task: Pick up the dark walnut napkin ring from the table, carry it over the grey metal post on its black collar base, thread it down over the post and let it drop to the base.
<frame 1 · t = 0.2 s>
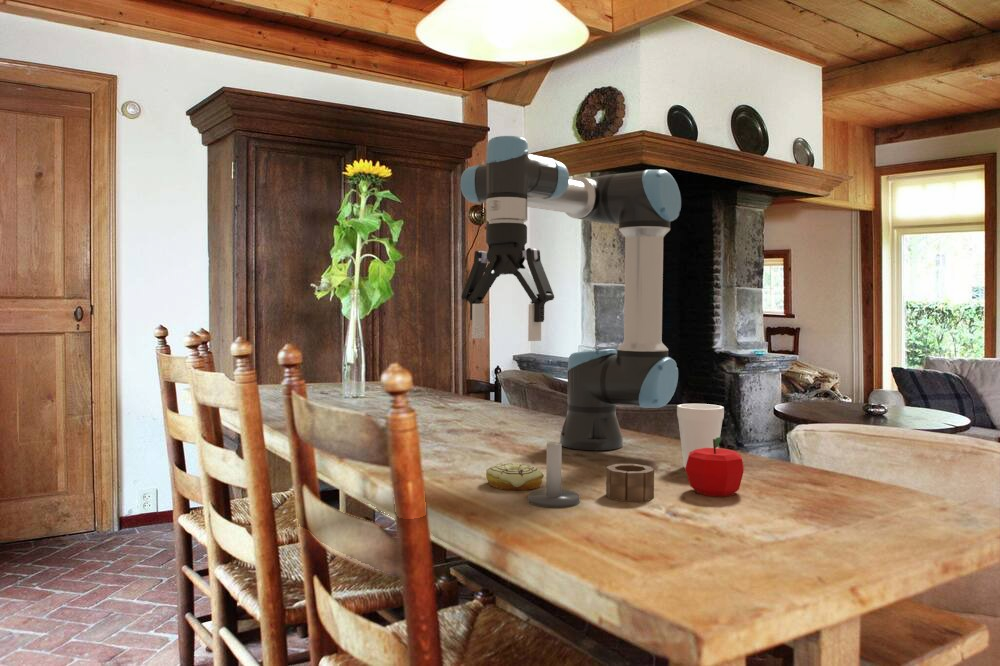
hand: (505, 339, 147), 28 cm above the table, fingers open, 13 cm apart
ring: (629, 496, 143), on the table
foam cup: (699, 469, 168), on the table
apple: (714, 493, 146), on the table
post: (553, 500, 139), on the table
decorated donut: (514, 487, 151), on the table
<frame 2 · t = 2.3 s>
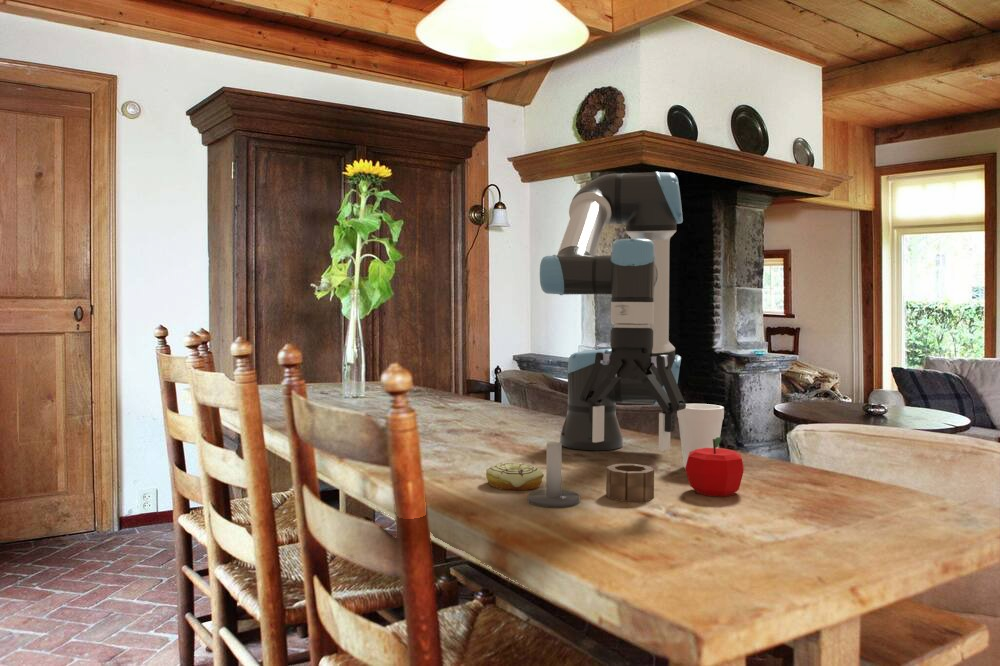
hand: (630, 446, 142), 9 cm above the table, fingers open, 13 cm apart
nothing on the table moved.
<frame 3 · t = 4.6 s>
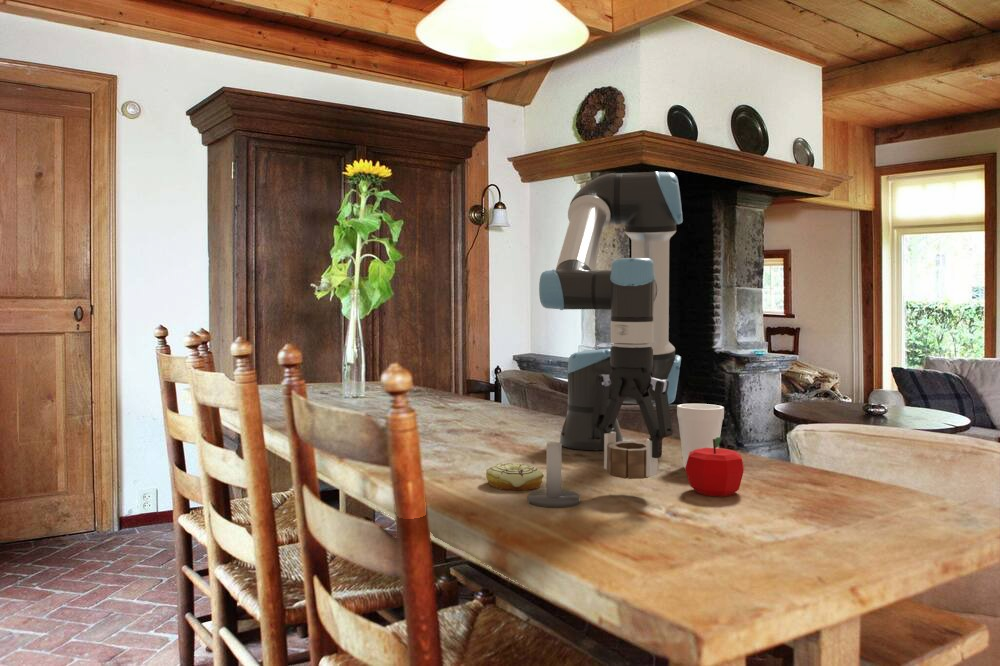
hand: (630, 471, 143), 4 cm above the table, fingers closed on ring, 8 cm apart
ring: (630, 473, 143), point 4 cm above the table, touching gripper
everything else where it was.
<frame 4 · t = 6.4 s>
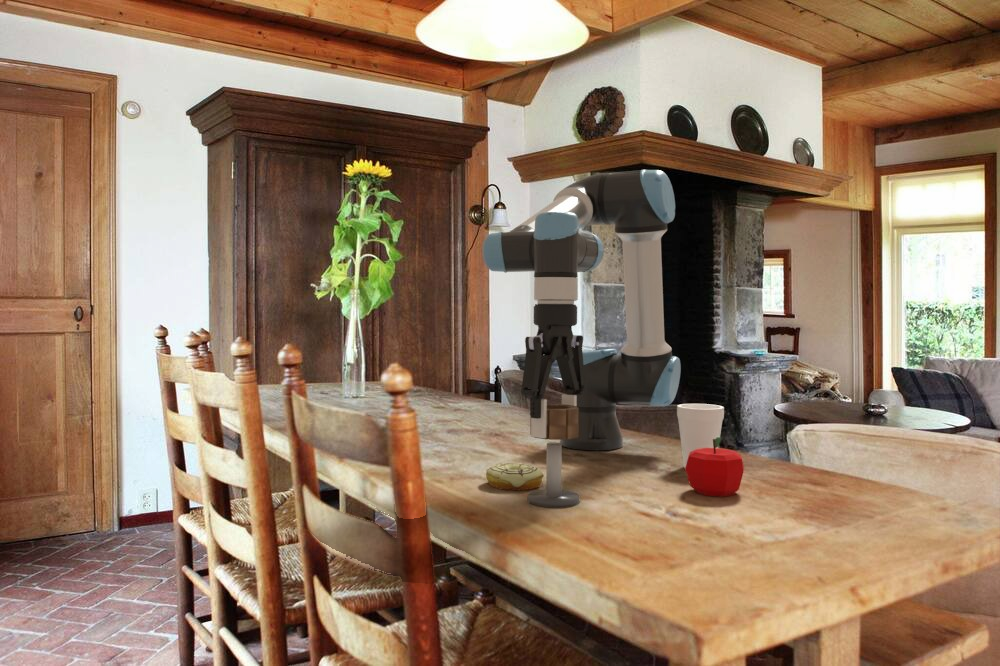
hand: (554, 434, 139), 12 cm above the table, fingers closed on ring, 8 cm apart
ring: (554, 435, 139), point 11 cm above the table, touching gripper
everything else where it was.
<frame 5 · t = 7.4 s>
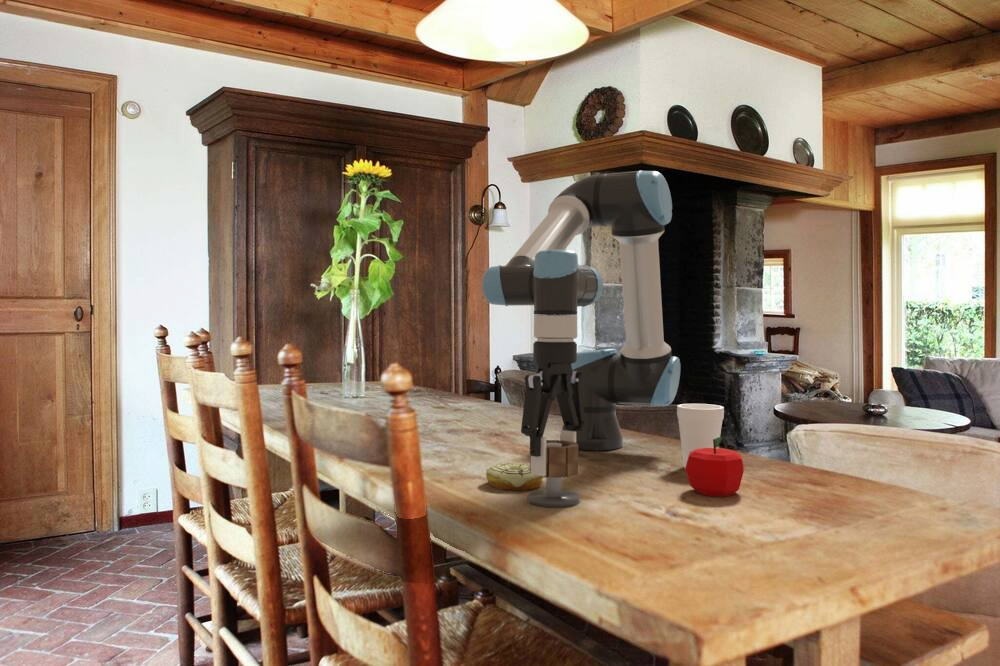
hand: (553, 470, 139), 5 cm above the table, fingers closed on ring, 8 cm apart
ring: (553, 472, 139), point 5 cm above the table, touching gripper
everything else where it was.
when the fingers open (5 cm above the table, at t = 8.3 s): ring drops 3 cm, resting on post.
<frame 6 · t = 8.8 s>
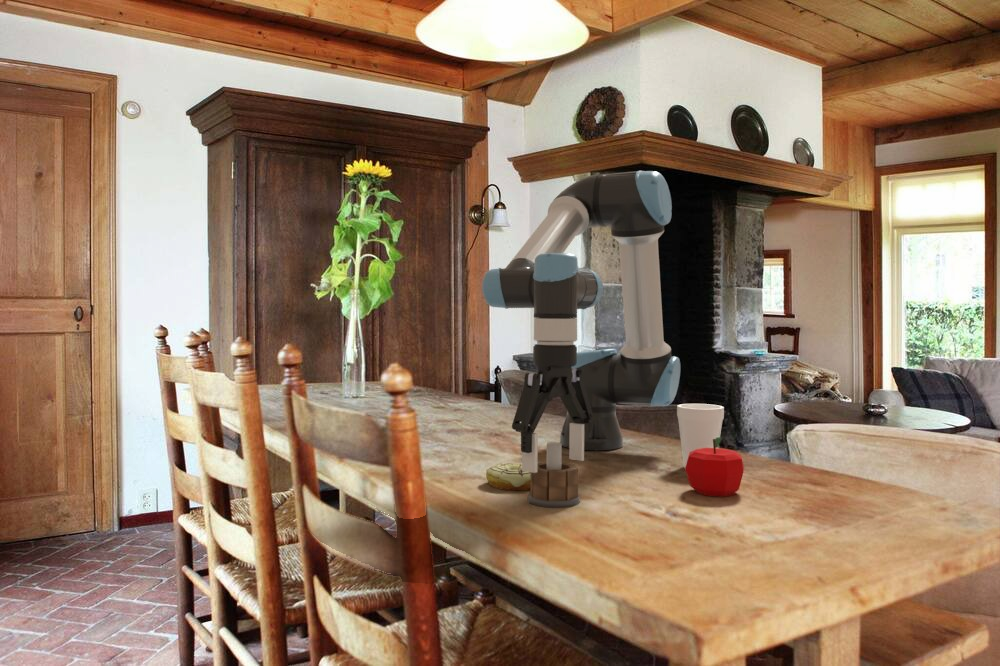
hand: (553, 465, 139), 6 cm above the table, fingers open, 13 cm apart
ring: (553, 495, 139), point 1 cm above the table, touching post
everything else where it was.
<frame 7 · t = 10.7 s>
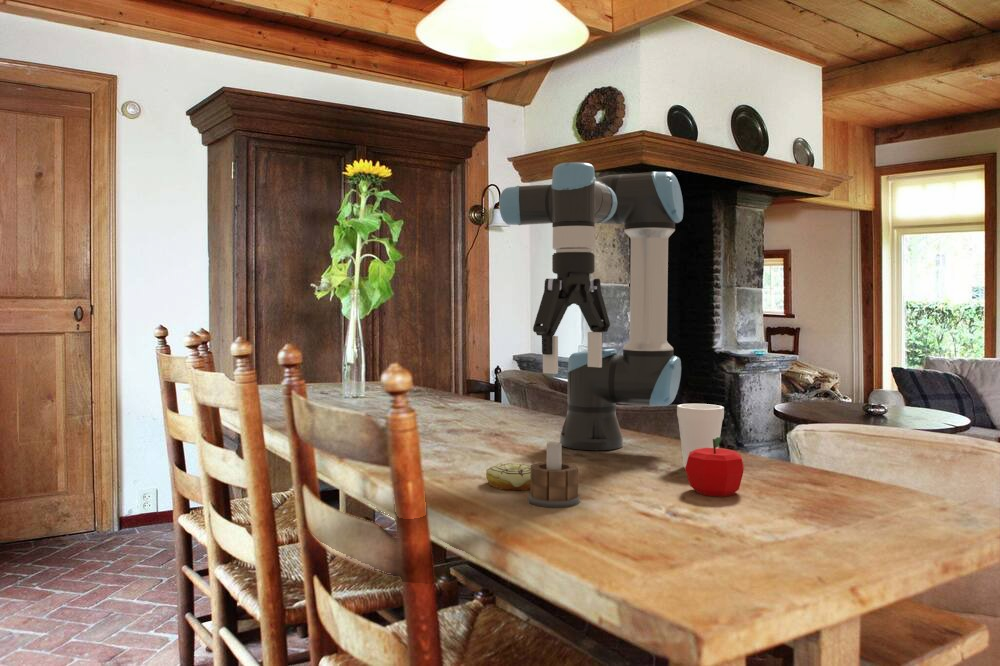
hand: (573, 370, 144), 22 cm above the table, fingers open, 13 cm apart
nothing on the table moved.
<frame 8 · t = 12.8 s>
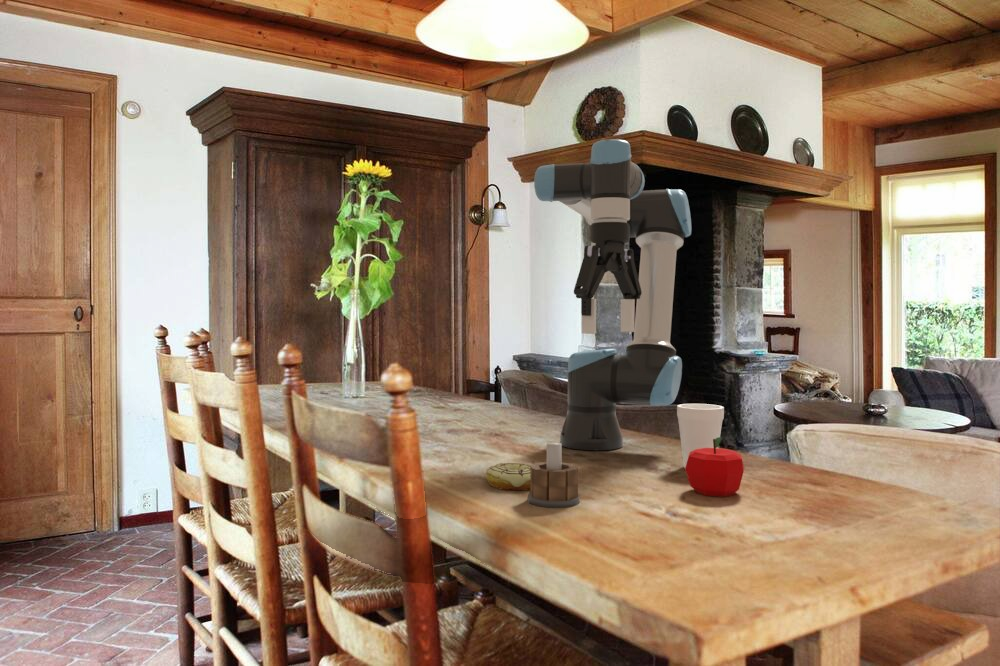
hand: (608, 332, 154), 29 cm above the table, fingers open, 13 cm apart
nothing on the table moved.
at the end: ring 0.0 cm off-centre on the post, point 1.0 cm above the post's base; the gripper is holding nothing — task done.
